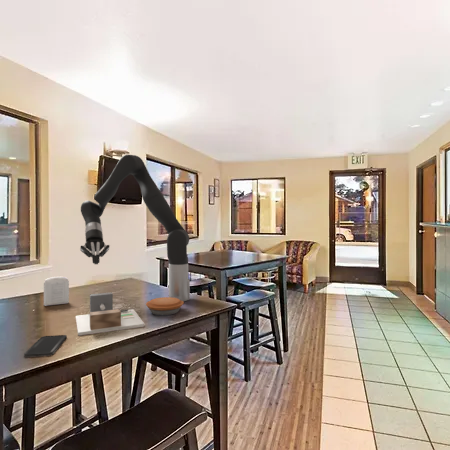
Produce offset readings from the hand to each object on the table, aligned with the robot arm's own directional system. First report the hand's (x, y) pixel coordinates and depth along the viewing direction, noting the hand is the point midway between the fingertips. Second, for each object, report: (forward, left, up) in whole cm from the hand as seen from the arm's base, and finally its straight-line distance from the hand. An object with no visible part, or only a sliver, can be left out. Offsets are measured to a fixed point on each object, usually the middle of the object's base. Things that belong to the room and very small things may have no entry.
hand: (96, 263), depth 150 cm
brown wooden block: (0, +34, -18) cm, 38 cm away
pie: (-25, +21, -19) cm, 38 cm away
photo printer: (+16, -11, -19) cm, 27 cm away
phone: (+18, +43, -19) cm, 50 cm away
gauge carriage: (-3, +22, -17) cm, 28 cm away
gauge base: (-2, +26, -19) cm, 32 cm away
